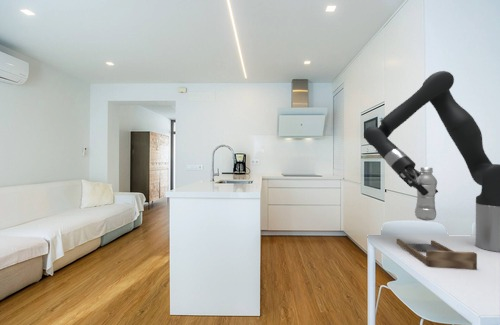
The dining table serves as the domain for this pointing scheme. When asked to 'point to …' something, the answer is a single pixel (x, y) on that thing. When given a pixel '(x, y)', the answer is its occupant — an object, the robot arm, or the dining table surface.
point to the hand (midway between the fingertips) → (431, 193)
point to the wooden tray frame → (440, 255)
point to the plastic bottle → (426, 196)
